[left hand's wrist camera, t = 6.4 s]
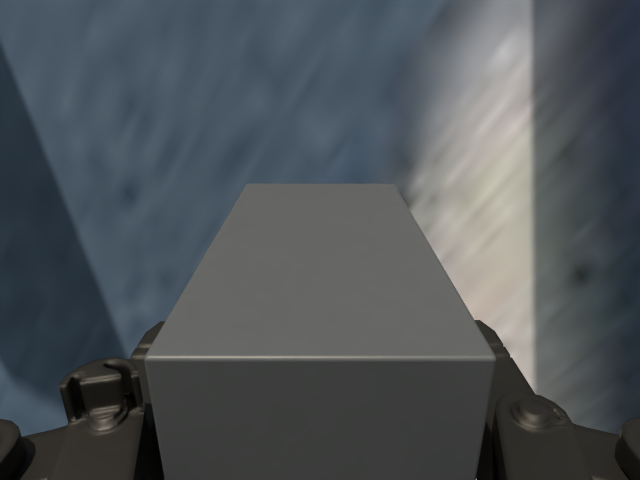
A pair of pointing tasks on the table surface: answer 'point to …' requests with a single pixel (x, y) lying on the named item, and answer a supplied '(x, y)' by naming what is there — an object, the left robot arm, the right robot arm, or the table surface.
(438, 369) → the bar
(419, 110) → the table surface
